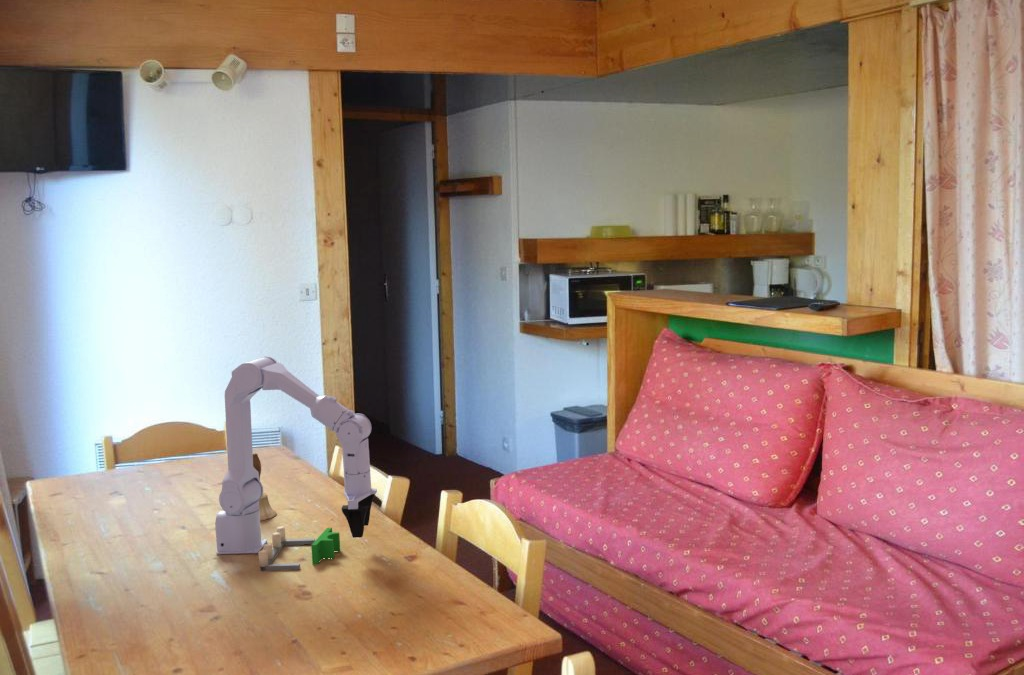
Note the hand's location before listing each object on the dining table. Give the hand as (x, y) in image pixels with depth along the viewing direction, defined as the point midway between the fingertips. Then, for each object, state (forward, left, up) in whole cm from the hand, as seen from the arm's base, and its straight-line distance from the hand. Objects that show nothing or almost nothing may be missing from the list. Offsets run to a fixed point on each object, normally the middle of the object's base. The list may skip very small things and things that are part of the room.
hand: (360, 530), depth 213 cm
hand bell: (-31, +29, -6) cm, 43 cm away
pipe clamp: (-8, 0, -6) cm, 10 cm away
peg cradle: (-16, 0, -5) cm, 16 cm away
